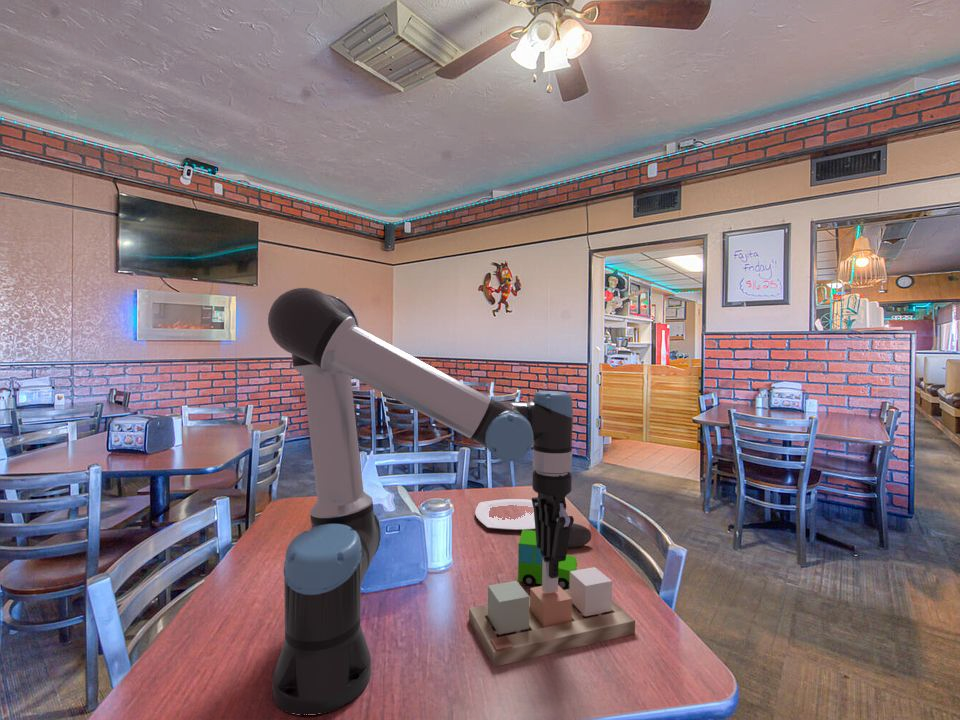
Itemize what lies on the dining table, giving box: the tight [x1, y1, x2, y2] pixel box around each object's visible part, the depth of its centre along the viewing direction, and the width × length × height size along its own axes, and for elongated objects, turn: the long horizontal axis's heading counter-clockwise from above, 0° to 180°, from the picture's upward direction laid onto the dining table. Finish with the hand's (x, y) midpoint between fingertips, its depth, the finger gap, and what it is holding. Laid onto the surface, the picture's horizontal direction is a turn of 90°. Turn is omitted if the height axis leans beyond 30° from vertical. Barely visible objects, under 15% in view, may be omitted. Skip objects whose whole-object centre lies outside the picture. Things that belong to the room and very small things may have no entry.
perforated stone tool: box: [567, 522, 592, 549], centre depth 124 cm, size 15×5×7 cm, turn 94°
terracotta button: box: [529, 585, 572, 628], centre depth 88 cm, size 6×6×6 cm
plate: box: [474, 498, 535, 531], centre depth 145 cm, size 27×27×2 cm
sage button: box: [487, 580, 530, 636], centre depth 85 cm, size 6×6×6 cm
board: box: [468, 588, 636, 668], centre depth 88 cm, size 29×14×3 cm, turn 109°
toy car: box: [517, 530, 578, 590], centre depth 106 cm, size 10×13×10 cm
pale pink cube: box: [569, 566, 613, 617], centre depth 91 cm, size 6×6×6 cm
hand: (549, 590), depth 88 cm, fingers closed
